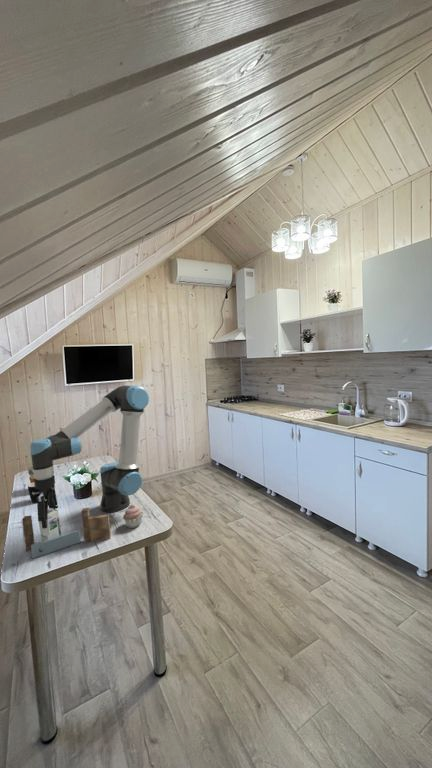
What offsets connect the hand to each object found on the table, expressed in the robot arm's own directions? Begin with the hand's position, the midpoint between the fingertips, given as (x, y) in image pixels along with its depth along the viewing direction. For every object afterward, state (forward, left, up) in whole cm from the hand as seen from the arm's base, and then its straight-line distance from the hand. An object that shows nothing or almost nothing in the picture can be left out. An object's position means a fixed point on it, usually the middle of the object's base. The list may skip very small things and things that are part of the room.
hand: (50, 529), depth 134 cm
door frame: (-7, -1, -8) cm, 10 cm away
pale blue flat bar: (-3, +4, -7) cm, 9 cm away
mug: (+24, -55, -8) cm, 60 cm away
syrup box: (0, 0, -7) cm, 7 cm away
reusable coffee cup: (+30, -72, -8) cm, 78 cm away
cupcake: (-33, -9, -8) cm, 35 cm away
